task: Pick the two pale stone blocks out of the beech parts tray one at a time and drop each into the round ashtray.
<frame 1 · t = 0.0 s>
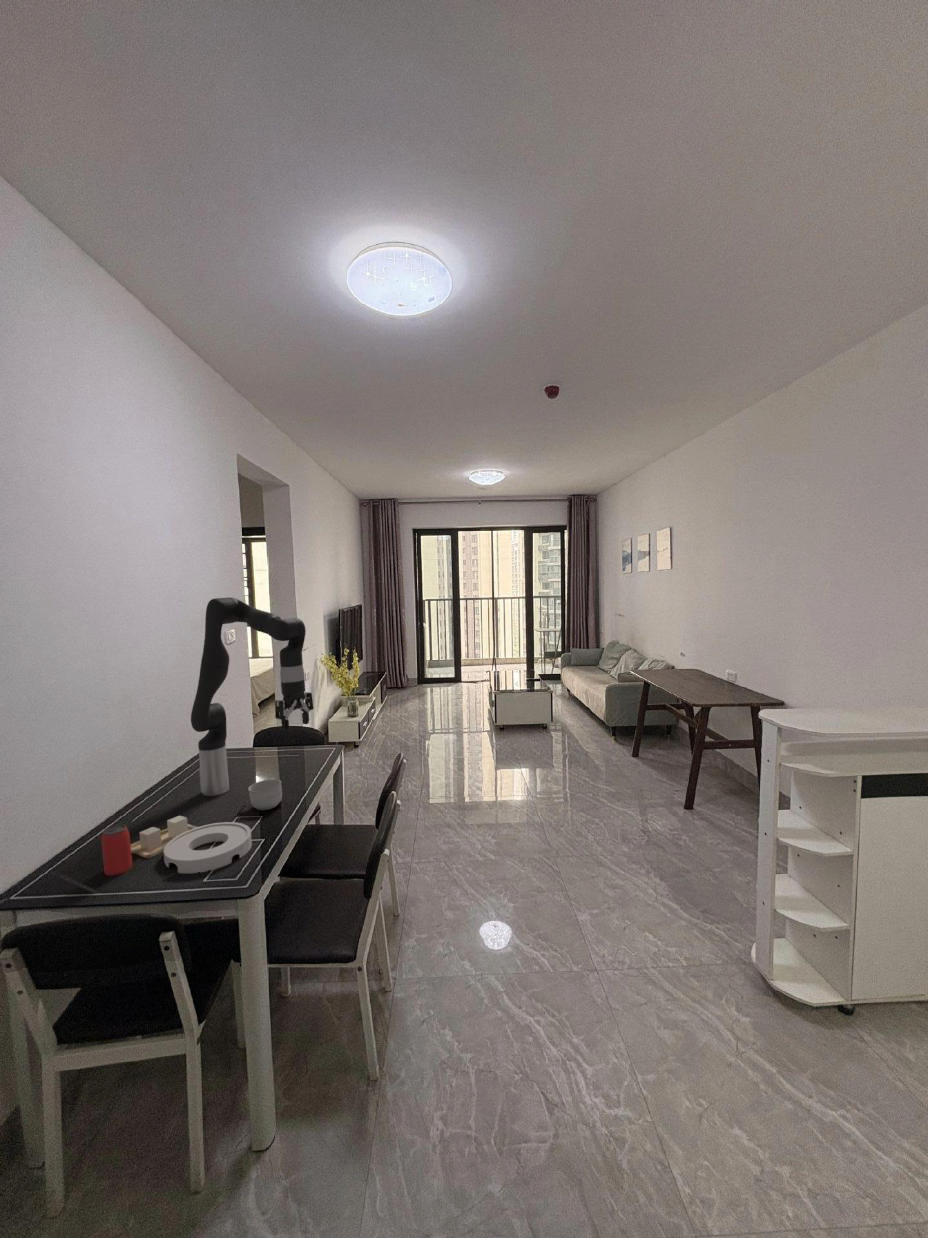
hand: (296, 727, 182), 29 cm above the table, fingers open, 8 cm apart
beer can: (119, 871, 152), on the table
ashtray: (209, 853, 160), on the table
parts tray: (166, 842, 168), on the table
teacup: (269, 805, 192), on the table
stone block b: (151, 847, 164), point 1 cm above the table, touching parts tray
stone block a: (178, 834, 171), point 1 cm above the table, touching parts tray
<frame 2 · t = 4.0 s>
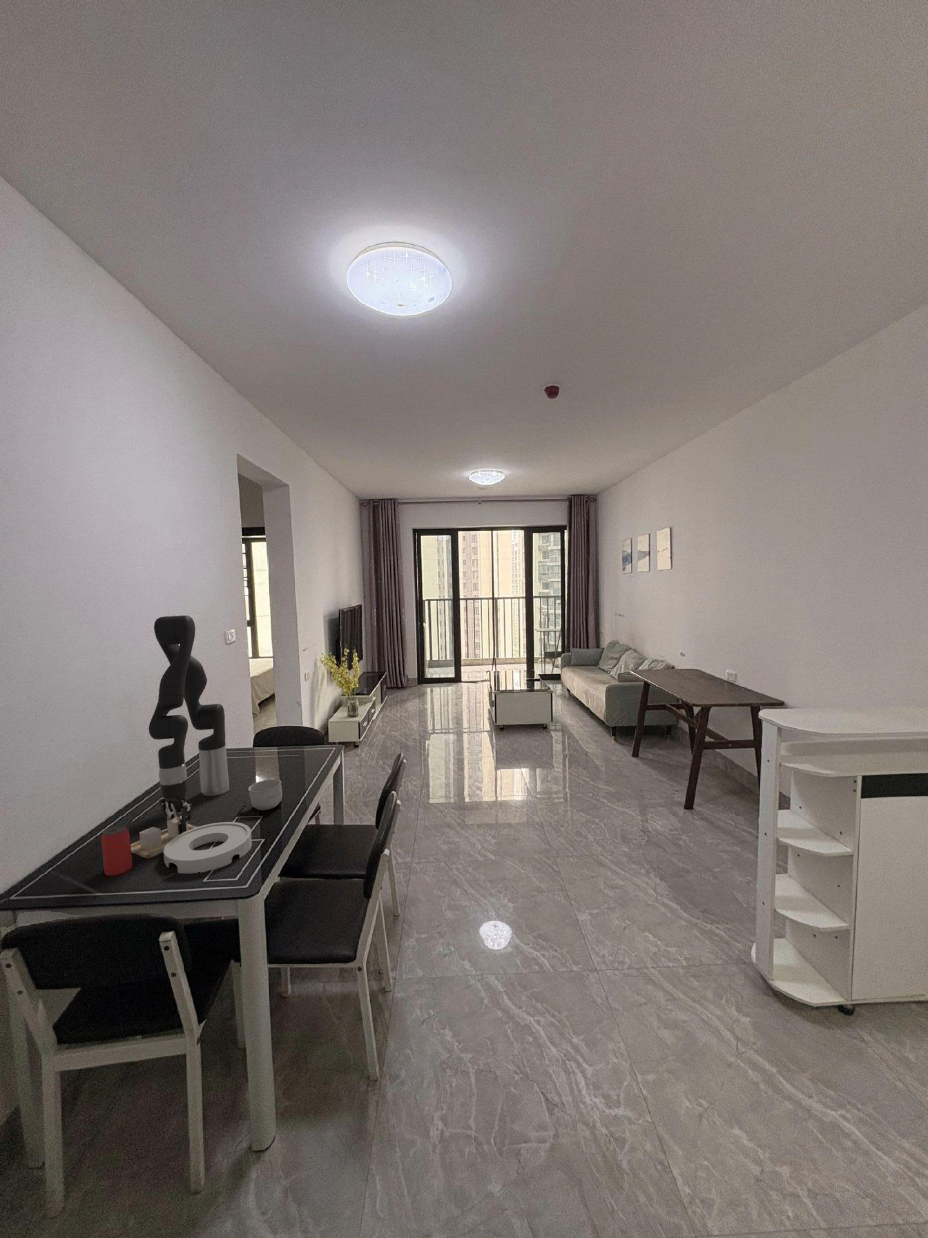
hand: (178, 832, 171), 1 cm above the table, fingers closed on stone block a, 4 cm apart
stone block a: (178, 834, 171), point 1 cm above the table, touching gripper, parts tray
everything else where it was.
when the fingers open (7 cm above the table, at t = 7.8 s): stone block a drops 2 cm, resting on ashtray.
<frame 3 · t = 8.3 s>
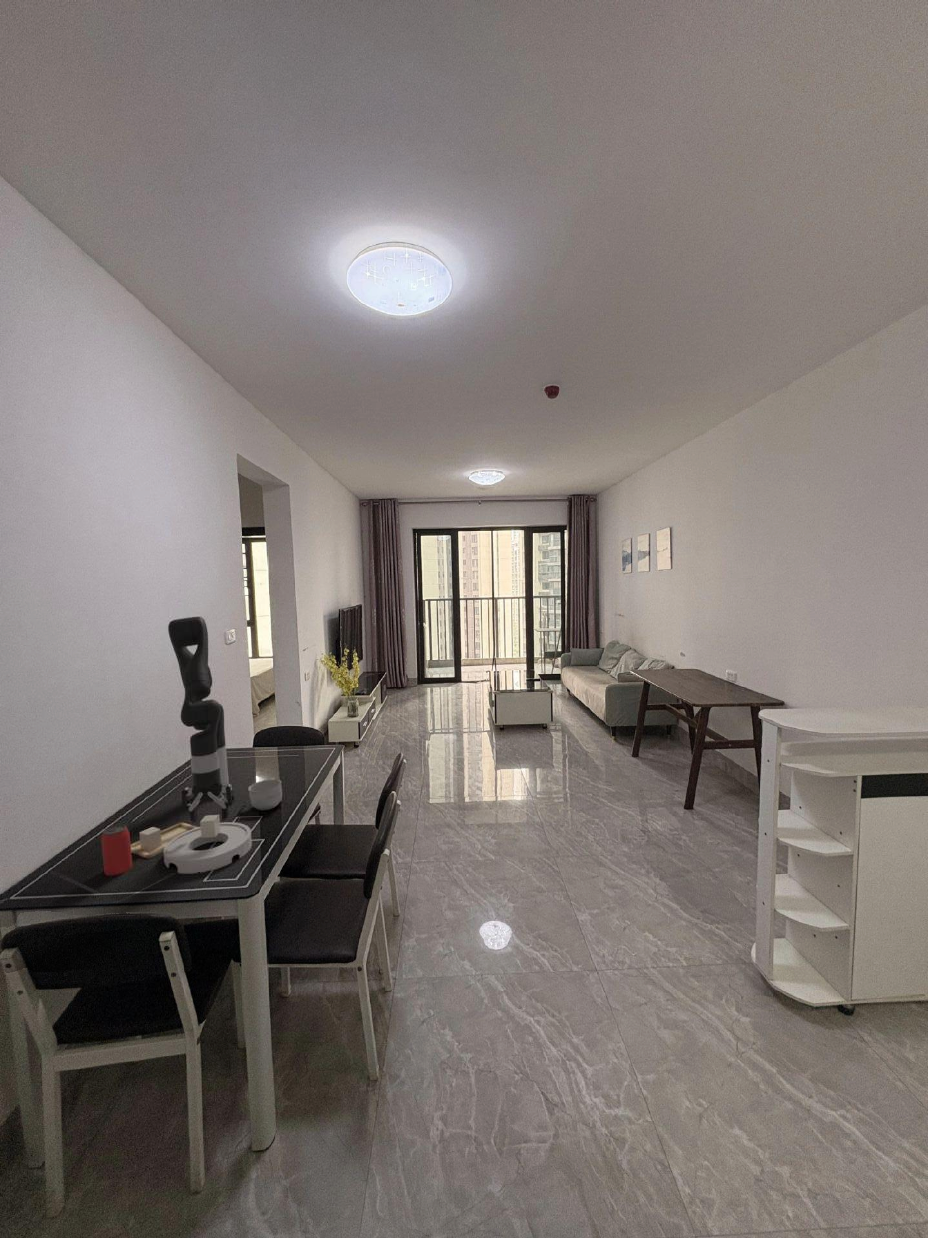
hand: (210, 820, 164), 8 cm above the table, fingers open, 8 cm apart
ashtray: (209, 854, 160), on the table, touching stone block a
stone block a: (211, 834, 164), point 4 cm above the table, touching ashtray
everything else where it was.
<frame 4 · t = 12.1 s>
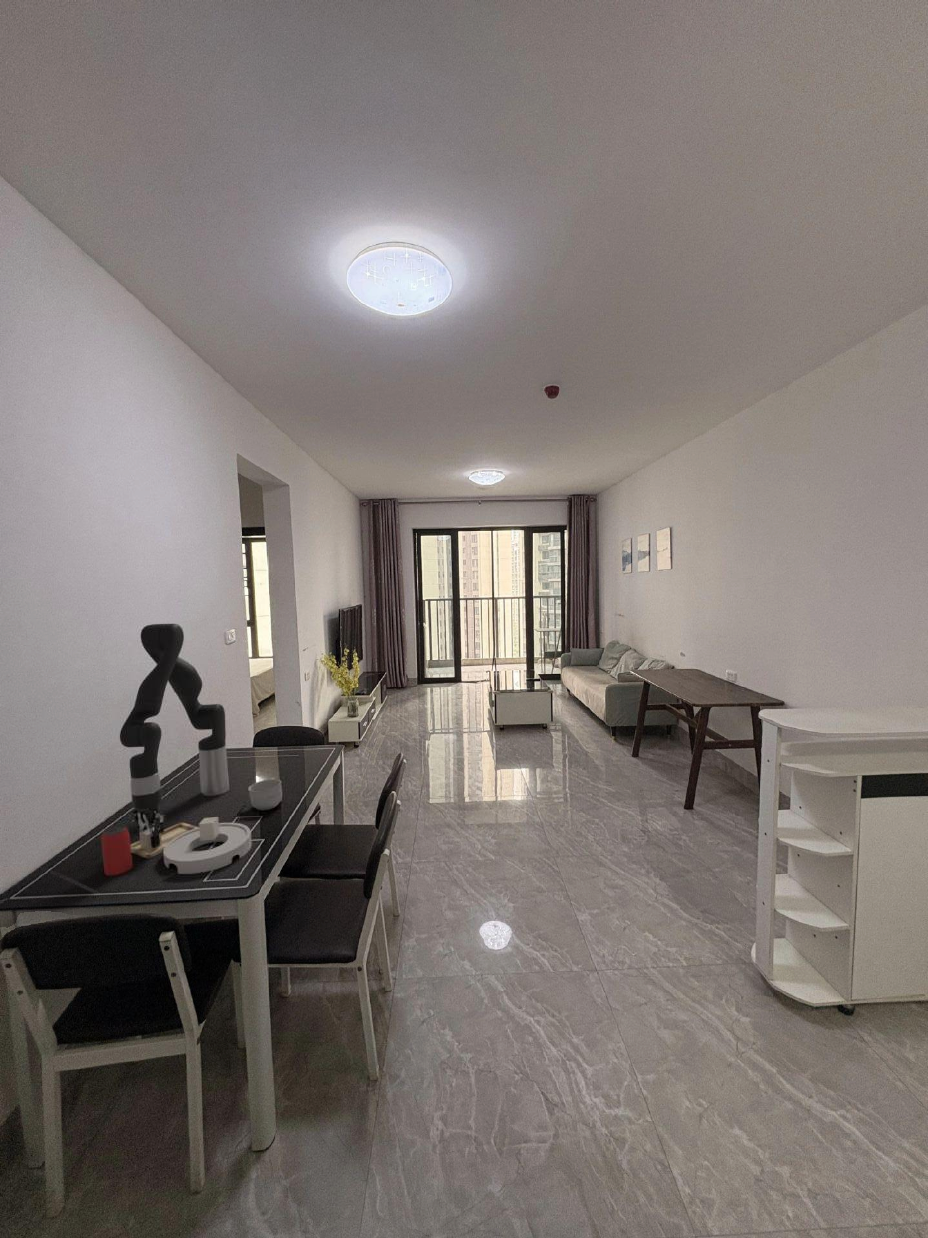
hand: (151, 845, 164), 1 cm above the table, fingers closed on stone block b, 4 cm apart
stone block b: (151, 847, 164), point 1 cm above the table, touching gripper, parts tray
stone block a: (210, 836, 162), point 4 cm above the table, touching ashtray
everything else where it was.
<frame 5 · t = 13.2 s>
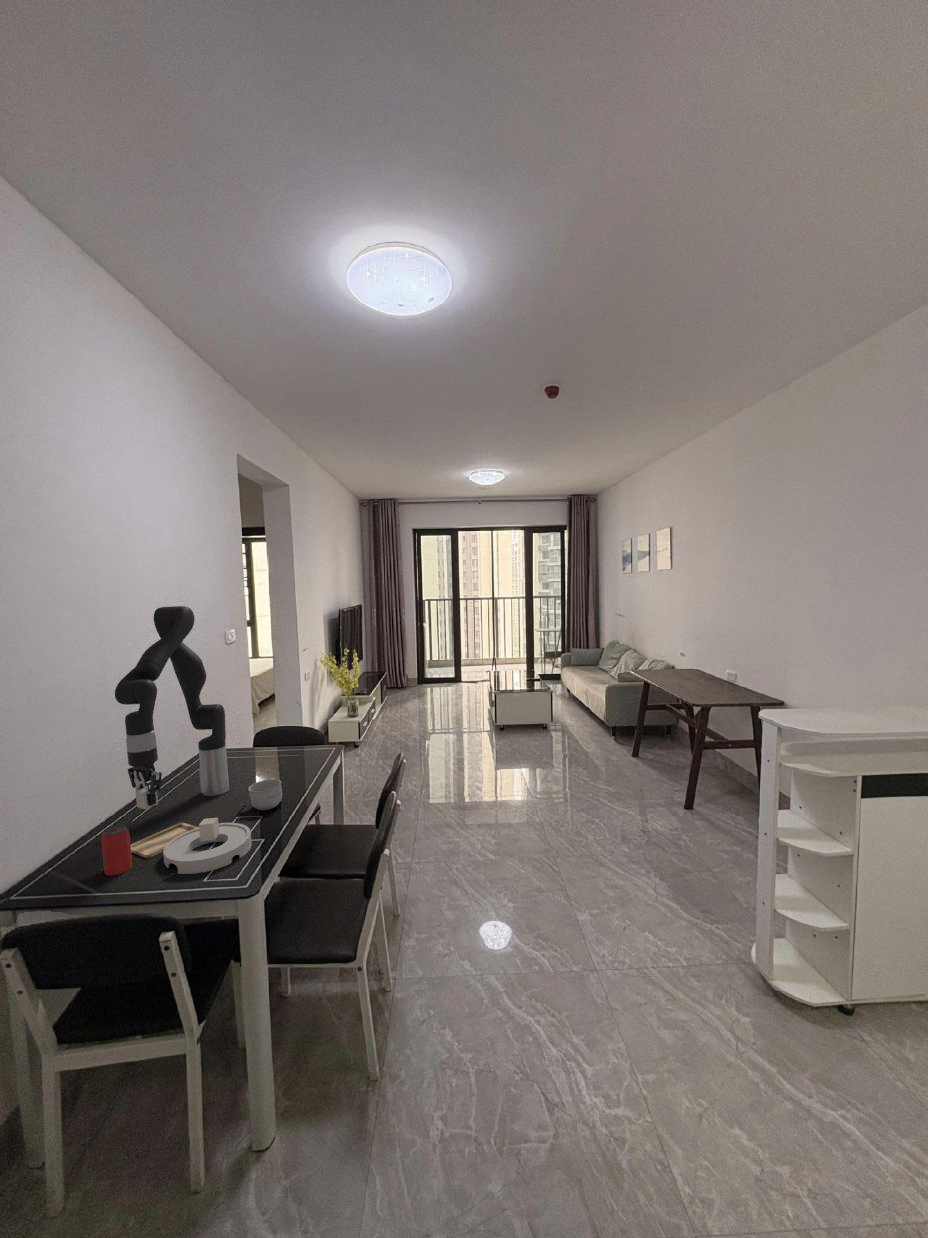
hand: (147, 803, 163), 14 cm above the table, fingers closed on stone block b, 4 cm apart
stone block b: (147, 805, 163), point 13 cm above the table, touching gripper
everything else where it was.
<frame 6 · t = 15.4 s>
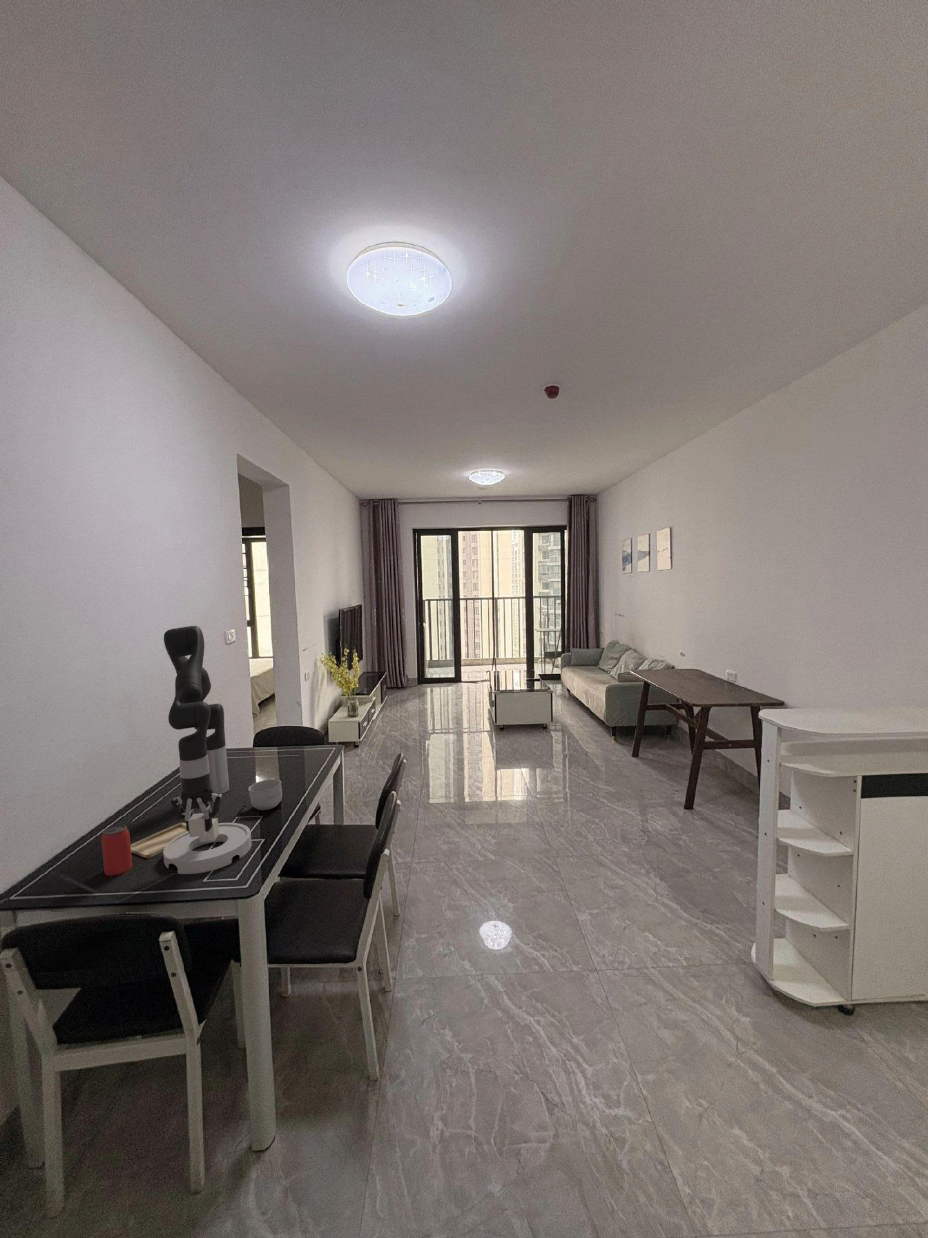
hand: (199, 831, 156), 8 cm above the table, fingers closed on stone block b, 4 cm apart
stone block b: (199, 833, 156), point 7 cm above the table, touching gripper
everything else where it was.
when the fingers open (7 cm above the table, at t = 15.9 s): stone block b drops 3 cm, resting on ashtray.
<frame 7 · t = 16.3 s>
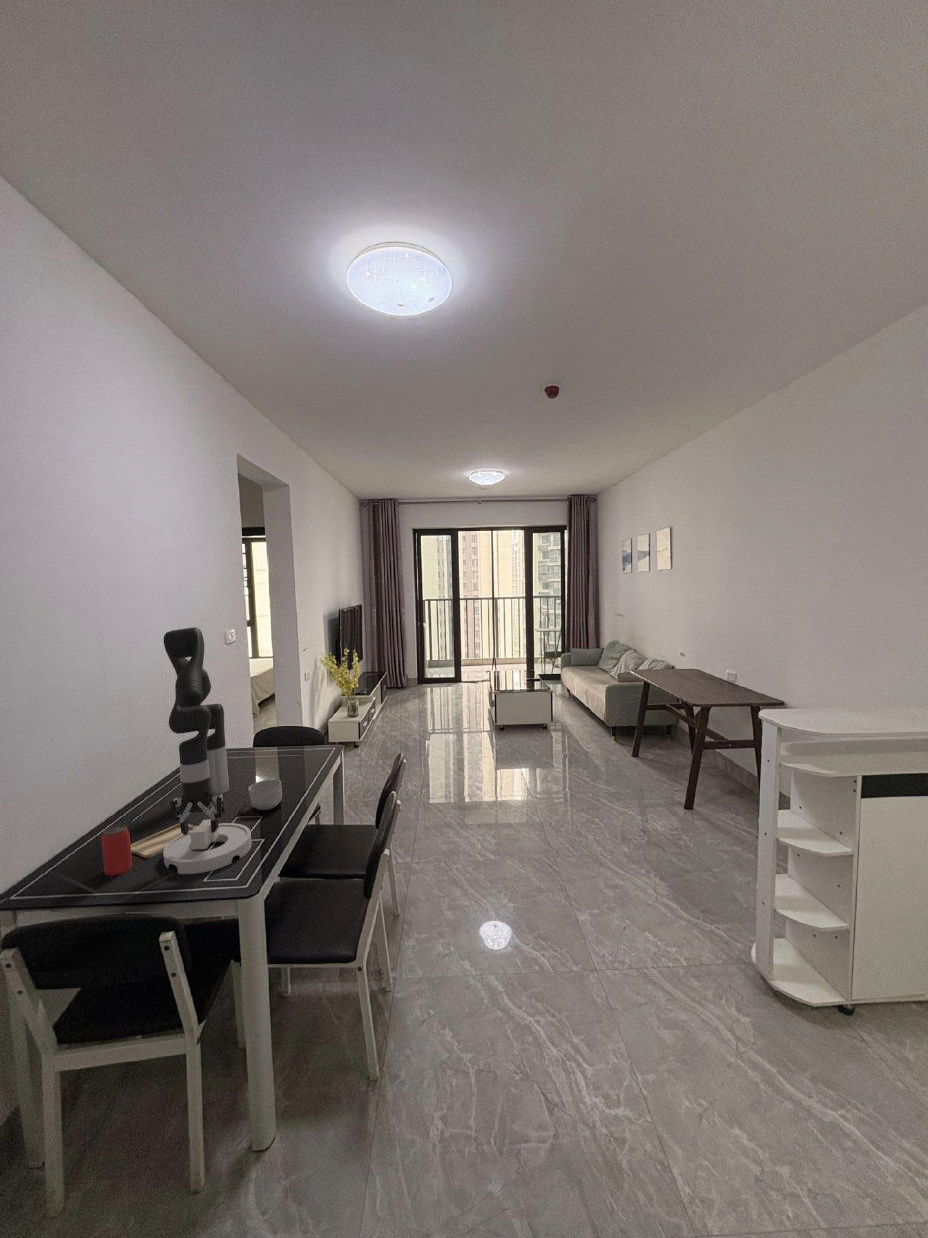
hand: (200, 832, 157), 7 cm above the table, fingers open, 7 cm apart
ashtray: (209, 855, 160), on the table, touching stone block a, stone block b
stone block b: (201, 845, 157), point 3 cm above the table, touching ashtray
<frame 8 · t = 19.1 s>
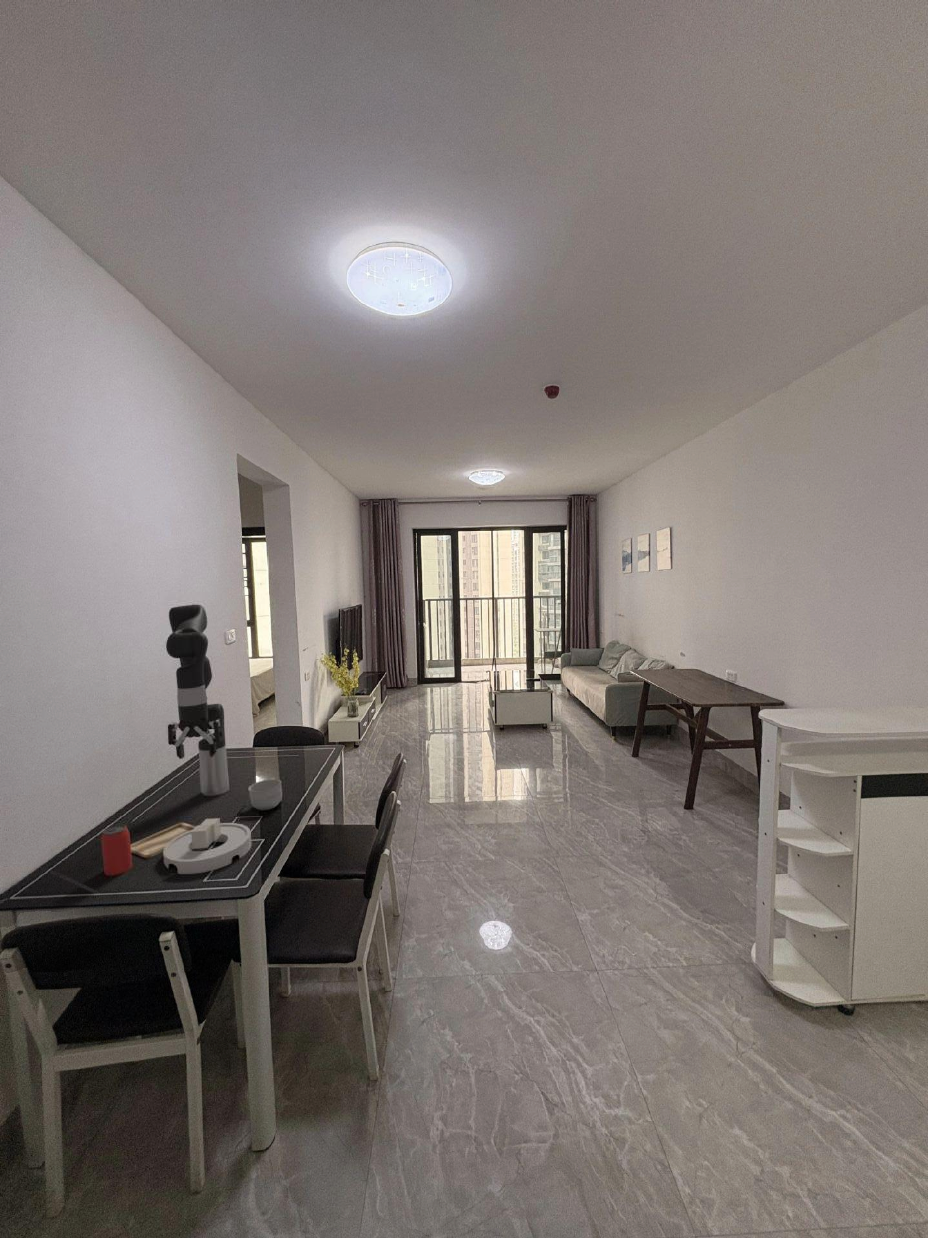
hand: (197, 757, 159), 28 cm above the table, fingers open, 8 cm apart
nothing on the table moved.
at the end: stone block a inside the target area on the ashtray (1.7 cm from its centre), point 4.2 cm above the ashtray's base; stone block b inside the target area on the ashtray (2.4 cm from its centre), point 4.2 cm above the ashtray's base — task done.
